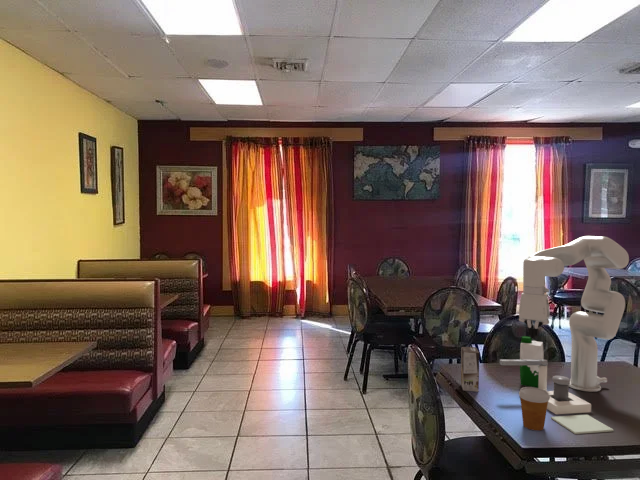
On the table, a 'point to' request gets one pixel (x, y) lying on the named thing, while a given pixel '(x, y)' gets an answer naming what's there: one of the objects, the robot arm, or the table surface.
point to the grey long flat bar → (524, 362)
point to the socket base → (562, 407)
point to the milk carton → (530, 352)
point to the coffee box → (470, 369)
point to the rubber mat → (581, 424)
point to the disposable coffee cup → (534, 407)
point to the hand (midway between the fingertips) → (533, 337)
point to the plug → (561, 388)
